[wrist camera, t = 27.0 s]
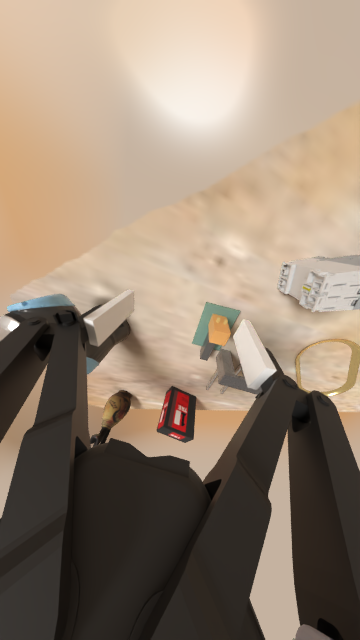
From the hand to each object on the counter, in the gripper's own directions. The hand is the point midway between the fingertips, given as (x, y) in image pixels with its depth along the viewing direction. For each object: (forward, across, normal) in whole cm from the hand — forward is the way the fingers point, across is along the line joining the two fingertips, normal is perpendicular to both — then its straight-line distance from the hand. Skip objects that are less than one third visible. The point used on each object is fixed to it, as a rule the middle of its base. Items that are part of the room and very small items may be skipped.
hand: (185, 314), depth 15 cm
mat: (+29, +12, -20) cm, 37 cm away
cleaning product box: (+29, +10, -74) cm, 80 cm away
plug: (+28, +12, -22) cm, 38 cm away
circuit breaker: (+29, +30, +6) cm, 42 cm away
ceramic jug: (+29, -28, -95) cm, 103 cm away
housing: (+29, +26, -44) cm, 59 cm away
